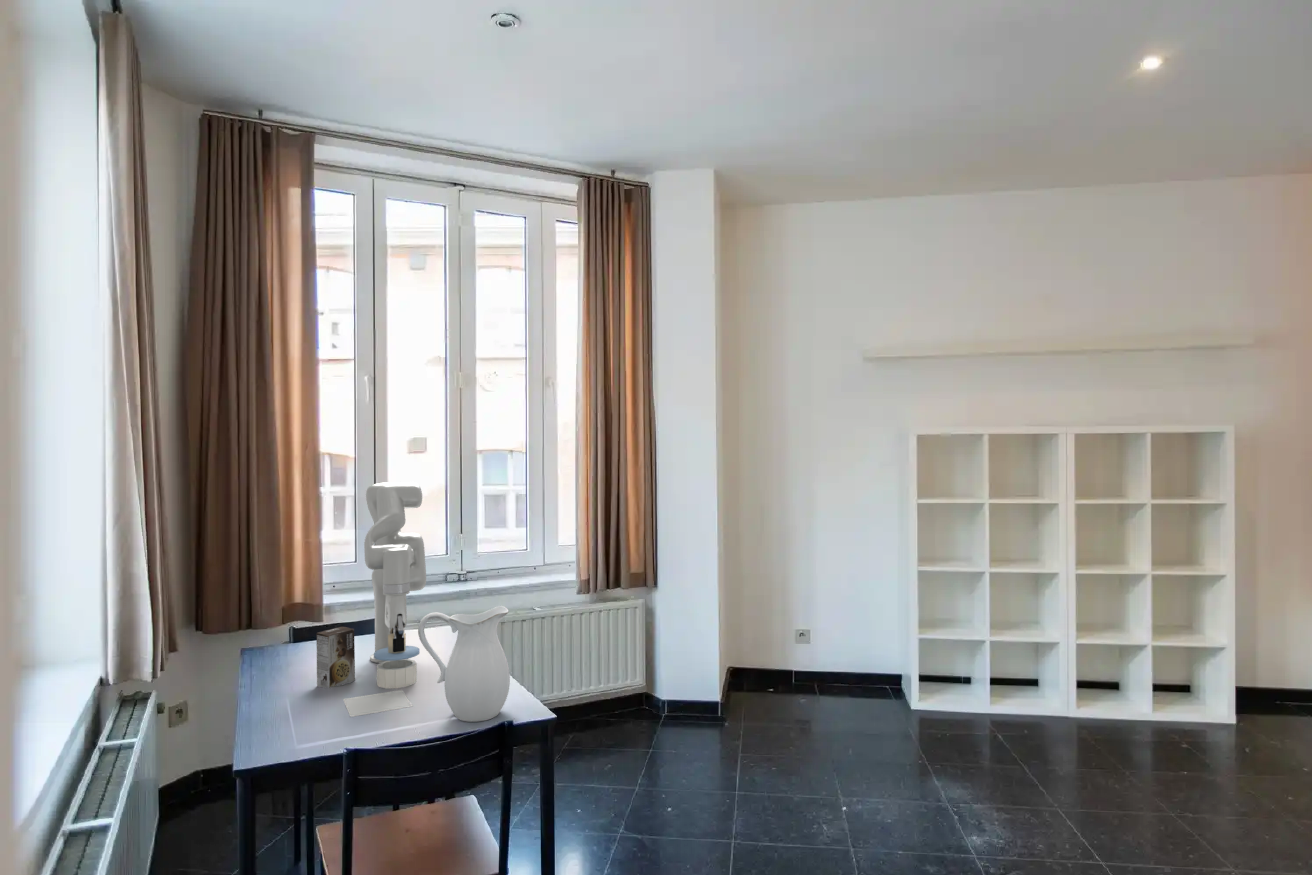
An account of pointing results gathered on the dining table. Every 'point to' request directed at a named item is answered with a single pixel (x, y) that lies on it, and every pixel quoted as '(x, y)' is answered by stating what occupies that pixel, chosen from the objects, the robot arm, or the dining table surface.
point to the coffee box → (335, 657)
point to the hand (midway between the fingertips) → (396, 648)
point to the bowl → (396, 673)
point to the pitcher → (473, 664)
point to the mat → (376, 703)
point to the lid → (389, 655)
